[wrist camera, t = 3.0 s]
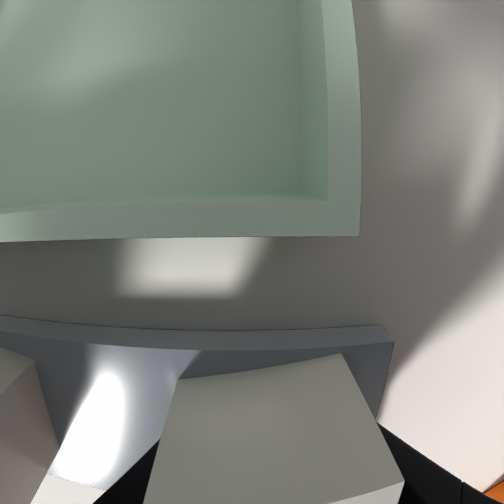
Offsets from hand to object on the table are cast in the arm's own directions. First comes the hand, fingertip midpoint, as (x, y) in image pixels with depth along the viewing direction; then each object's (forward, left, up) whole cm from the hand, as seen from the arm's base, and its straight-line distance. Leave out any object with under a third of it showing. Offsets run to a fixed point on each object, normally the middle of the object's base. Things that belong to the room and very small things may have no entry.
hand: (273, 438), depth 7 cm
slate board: (-1, +5, -2) cm, 5 cm away
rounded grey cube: (0, 0, 0) cm, 0 cm away
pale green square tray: (+11, +5, -2) cm, 12 cm away
